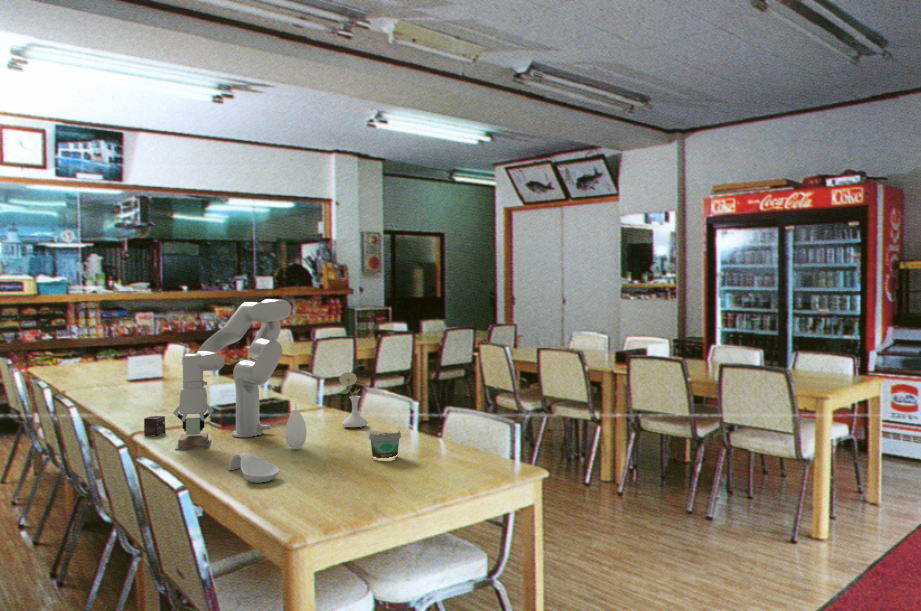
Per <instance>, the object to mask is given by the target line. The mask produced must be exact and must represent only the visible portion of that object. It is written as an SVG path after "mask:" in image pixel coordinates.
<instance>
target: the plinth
mask: <svg viewBox="0 0 921 611" xmlns="http://www.w3.org/2000/svg"><path fill="white" fill-rule="evenodd" d="M177 441H178V443H177V445H176V446H175V448H174V450H175V451H181V450H180V449H187V450H194V449H193V448H204V449H209V448H208V447H210V445H211V442H212V439H209V432H200V434H191V435H186V433H183V434H181V435H180V436H179V438H178V440H177ZM209 444H210V445H209Z"/></svg>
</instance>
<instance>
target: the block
mask: <svg viewBox="0 0 921 611" xmlns="http://www.w3.org/2000/svg"><path fill="white" fill-rule="evenodd" d="M200 420H201V417H200V415H198V416H186V432H185V434H186V435H191V434H200V433H202V431H201V430H200Z"/></svg>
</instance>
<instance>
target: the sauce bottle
mask: <svg viewBox="0 0 921 611" xmlns="http://www.w3.org/2000/svg"><path fill="white" fill-rule="evenodd" d="M285 425H286V426H285V430H284V433H285V434H284V436H285V440H286V444H287V445H288V447H290V448H291V450H294V449H298V450H299V449H301V448H302V447H303V446H304V445H305V442H306V439H307V426H306V422H305V419H304V417H303V415H302V414H301V413H300V410H299V409H298V408H297V403H295V407H294V409H293V410H292V412H291V414H290V416H289V417H288V419H287V423H286V424H285Z"/></svg>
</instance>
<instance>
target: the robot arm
mask: <svg viewBox="0 0 921 611" xmlns="http://www.w3.org/2000/svg"><path fill="white" fill-rule="evenodd" d="M291 312H292V306H291V304H290V303H289V301H287V300H286V299H277V298H266V299H263V300H262V301H261V302H257V301H256V302H254V301H247V302H246V301H244V302H243V303H241V304H240V305H239V306H238V307H237V309H236V310H235V311H234V313H233V314H232V315H231V317H230V318H229V319H228V320H227V322H226V323H225V324H224V326H223V327H222V328H221V329H219V330H217V331H216V332H215V333H214V334H212V335H211V336H210V337H208V338H207V339H206V340H205V341H204V342H203V343H202V345H200V347H199V348H198V350H197V351H196V352H195V353H186V354H184V355H183V356H182V388H181V389H180V394H179V405H178V406H177V408H175V410H174V411H173V412H172V414H173V415H175V417H177V418H178V419H179V420H180V421H181V422H182V430H184V433H186V419H187V417H188V415H198V414H199V416H200V417H201V420H200V430H201V432H202V431H203V430H204V429H205V420H206V419H207V418H208V417H209V416H210V415H212V414H213V413H214V409H213V408H212V407H211V406H210V405H209V404H208V394H207V388H206V387H204V386H208V381H205V380H204V372H216V371H217V372H218V371H220V370H221V369H222V368H223V367H224V366H225V363H226V362H225V361H226V360H225V358H224V356H223V355H222V354H221V353H219V352H220V351H221V350H222V349H223V348H225V347H227V346H230V345H232V344H235V343H236V342H239V341H240V340H241V339H242V338H243V337H244V335H245V334H246V333H247V331H248V330H249V329H250V328H251V326H252V325H253V323H260V324H261V325H260V328H259V331H258V332H257V334H256V336H255V337H254V338H253V340H252V342H251V344H250V346H249V348H248V355H249V357H251V359H253V360H250V359H245V360H241V361H239V362H238V363H236V364H235V366H234V368H233V372H232V373H233V374H232V375H233V381H234V385H235V386H234V387H235V430H233V431H232V433H231V435H232V436H233V437H234V438H254V437H253V436H255V437H258V436H257V435H259V436H261V434H262V433H263V434H264V430H271V424H268V423H267V424H266V423H265V424H262V423H261V421H260V389H259V386H262V385H265V384H266V383H267V382H269V380H270V379H271V377H272V376H273V374H274V371H275V370H276V369H277V366H278V365H279V362H280V361H281V359H282V356H283V346H282V345H281V343H280V342H279V341H277V340H278V338H279V337H280V334H281V331H282V330H281V329H282V328H281V321H280V320H286V319H287V318H288V317H290V315H291ZM263 434H262V435H263Z"/></svg>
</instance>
